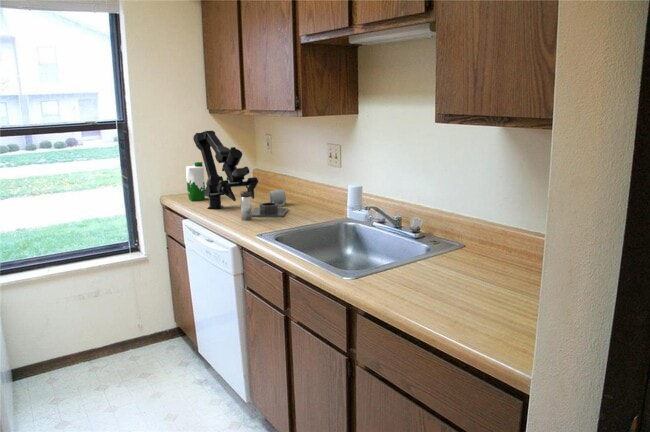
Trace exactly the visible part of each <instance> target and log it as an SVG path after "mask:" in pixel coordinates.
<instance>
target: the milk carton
mask: <svg viewBox="0 0 650 432" xmlns="http://www.w3.org/2000/svg"><path fill="white" fill-rule="evenodd" d="M204 167H205V166H203V162H202V161H198V162H197V161H196V162H194V165H189V166H185V171H186V172H185V175H186V188H187V195H188V196H187V197H188V199H189V201H191V202H199V201H206V196H205V193H204V191H205V189H206V185H205V168H204Z"/></svg>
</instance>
